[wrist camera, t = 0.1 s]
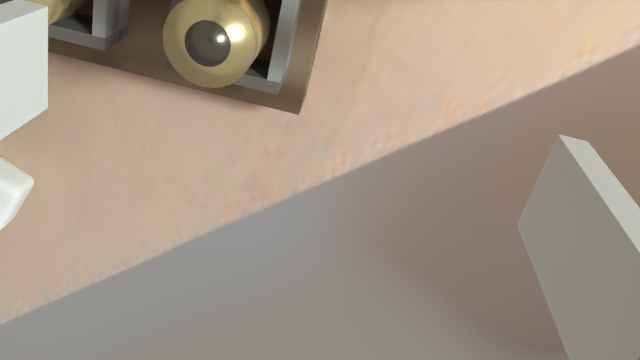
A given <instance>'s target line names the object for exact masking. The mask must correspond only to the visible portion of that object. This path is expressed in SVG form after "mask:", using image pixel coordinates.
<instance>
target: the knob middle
mask: <svg viewBox="0 0 640 360" xmlns="http://www.w3.org/2000/svg"><path fill="white" fill-rule="evenodd" d="M9 1H13V0H0V4H3V3H6V2H9ZM25 1H29V2H33V3H37V4H40V5H44V6H48V25H49V24H52V23H54V22H56V21H58V20H61V19H63V18H65V17H68V16H70V15H72V14H74V13H76V12H77V11H79V10H80V9H81V8H82V6H83V5H84V4H85V2H86V0H25Z"/></svg>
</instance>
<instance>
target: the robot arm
mask: <svg viewBox="0 0 640 360" xmlns="http://www.w3.org/2000/svg"><path fill="white" fill-rule="evenodd" d="M47 108H48V6H44V5H40V4H37V3H33V2H29V1H25V0H13V1H9V2H6V3H3V4H0V140H1V139H3V138H4V137H6V136H7V135H9V134H10V133H12V132H13V131H15V130H16V129H18V128H19V127H20V126H22V125H23V124H25V123H26V122H28V121H29V120H31V119H32V118H34V117H35V116H37V115H38V114H40V113H41V112H43V111H44V110H46V109H47ZM517 225H518V228H519V231H520V233H521V236H522V239H523V241H524V244H525V246H526V249H527V252H528V254H529V257H530V259H531V262H532V265H533V267H534V270H535V272H536V275H537V277H538V280H539V283H540V285H541V288H542V290H543V293H544V295H545V298H546V301H547V304H548V306H549V309H550V311H551V314H552V316H553V319H554V322H555V324H556V327H557V329H558V332H559V335H560V337H561V340H562V342H563V345H564V348H565V350H566V353H567V355H568V358H569V360H640V208H639V207H638V205H637V204H636V203H635V202H634V200H633V199H632V198H631V197H630V195H629V194H628V193H627V191H626V190H625V189H624V188H623V186H622V185H621V184H620V183H619V181H618V180H617V179H616V177H615V176H614V175H613V174H612V172H611V171H610V170H609V168H608V167H607V166H606V164H605V163H604V162H603V161H602V159H601V158H600V157H599V156H598V154H597V153H596V152H595V150H594V149H593V148H592V147H591V145H590V144H589V143H588V142H587V141H583V140H579V139H575V138H571V137H567V136H563V135H558V137H557V138H556V141H555V143H554V145H553V147H552V149H551V152H550V154H549V156H548V158H547V160H546V162H545V165H544V167H543V169H542V171H541V173H540V176H539V178H538V180H537V182H536V184H535V187H534V189H533V191H532V193H531V195H530V197H529V200H528V202H527V204H526V206H525V208H524V210H523V213H522V215H521V217H520V219H519V221H518V223H517Z"/></svg>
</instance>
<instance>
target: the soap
mask: <svg viewBox="0 0 640 360" xmlns="http://www.w3.org/2000/svg"><path fill="white" fill-rule="evenodd" d="M33 184H34V179H33V178H32V177H31V176H30V175H28V174H27V173H25V172H24V171H22V170H20V169H19V168H17V167H16V166H14V165H13V164H11V163H10V162H8V161H7V160H5V159H3V158H2V157H0V230H1V229H2V228H3V227H5V226H6V225H7V224H8V223H9V222H10V221H11V220H12V219H13V218H14V217H15V215H16V214H17V212H18V210H19V209H20V207H21V205H22V204H23V202H24V200H25V198H26V197H27V195H28V193H29V192H30V190H31V188H32V187H33Z"/></svg>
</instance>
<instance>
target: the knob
mask: <svg viewBox="0 0 640 360" xmlns="http://www.w3.org/2000/svg"><path fill="white" fill-rule="evenodd" d="M269 34H270V16H269V12H268V9H267V7H266V5H265V3H264V1H263V0H184V1H182V2H180V3H179V4H178V5H176V6H175V7H174V8H173V9H172V11H171V12H170V14H169V15H168V17H167V19H166V21H165V25H164V29H163V44H164V49H165V52H166V55H167V57H168V59H169V61H170V63H171V64H172V66H173V67H174V68H175V70H176V71H177V72H178V73H179V74H180V75H181V76H183V77H184V78H185V79H187V80H188V81H190V82H192V83H194V84H196V85H199V86H202V87H208V88H219V87H224V86H227V85H230V84H232V83H234V82H236V81H237V80H238V79H240V78H241V77H242V76H243V75H244V73H245V72H246V71H247V70H248V68H249V67H250V65H251V64H252V63H253V61H254V60H255V58H256V57H257V56H258V54H259V53H260V52H261V50H262V49H263V47H264V46H265V44H266V42H267V40H268V38H269Z"/></svg>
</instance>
